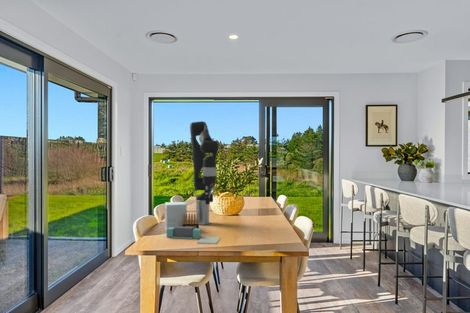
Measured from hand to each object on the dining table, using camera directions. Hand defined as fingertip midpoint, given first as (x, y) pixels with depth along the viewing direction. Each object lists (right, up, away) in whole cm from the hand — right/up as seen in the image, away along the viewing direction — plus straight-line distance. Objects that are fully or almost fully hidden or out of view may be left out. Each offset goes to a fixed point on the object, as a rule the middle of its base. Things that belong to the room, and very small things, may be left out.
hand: (209, 203), depth 189 cm
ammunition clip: (-14, -22, +22) cm, 34 cm away
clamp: (-16, -22, +9) cm, 28 cm away
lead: (-16, -22, +9) cm, 29 cm away
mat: (0, -22, 0) cm, 22 cm away
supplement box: (-25, -22, +29) cm, 44 cm away
